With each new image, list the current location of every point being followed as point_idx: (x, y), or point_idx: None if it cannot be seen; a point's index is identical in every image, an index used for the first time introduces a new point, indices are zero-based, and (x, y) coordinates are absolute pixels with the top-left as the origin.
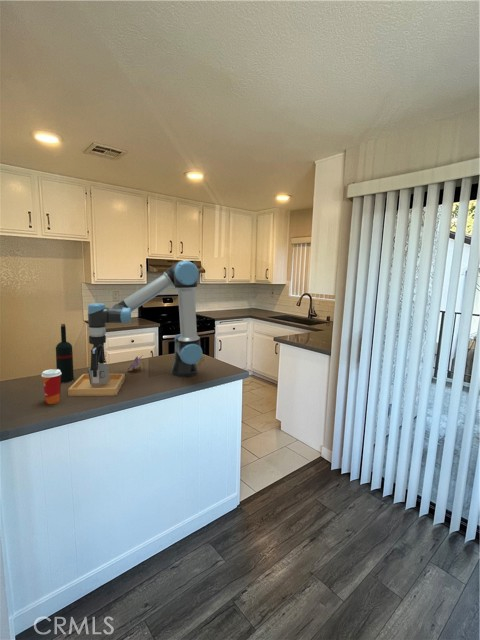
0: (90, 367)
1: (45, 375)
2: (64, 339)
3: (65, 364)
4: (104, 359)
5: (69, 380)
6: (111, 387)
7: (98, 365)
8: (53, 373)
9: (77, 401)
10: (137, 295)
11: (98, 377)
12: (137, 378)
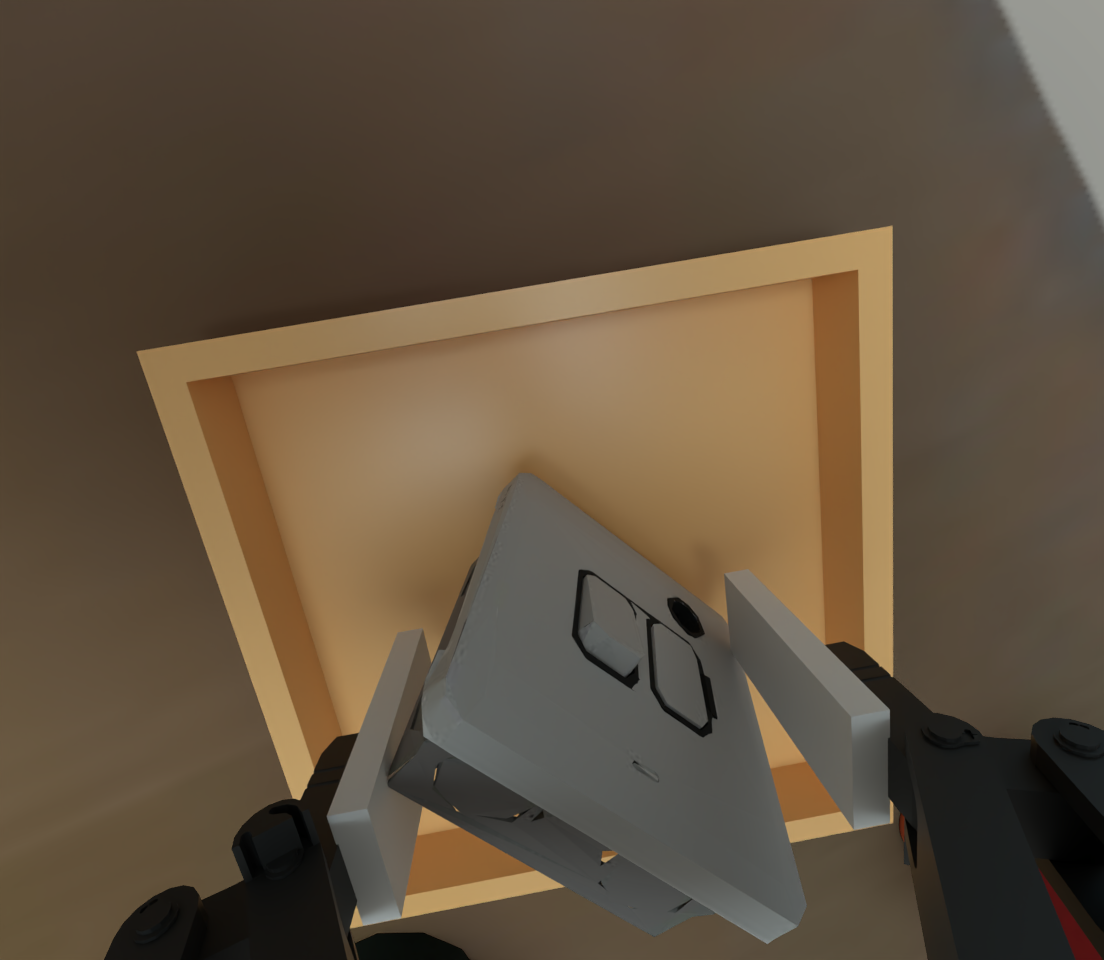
0: (786, 925)
1: None
2: None
3: None
4: (184, 925)
5: (437, 956)
6: (615, 398)
7: (405, 866)
8: None
9: (970, 613)
10: None
11: (782, 613)
12: (65, 150)
